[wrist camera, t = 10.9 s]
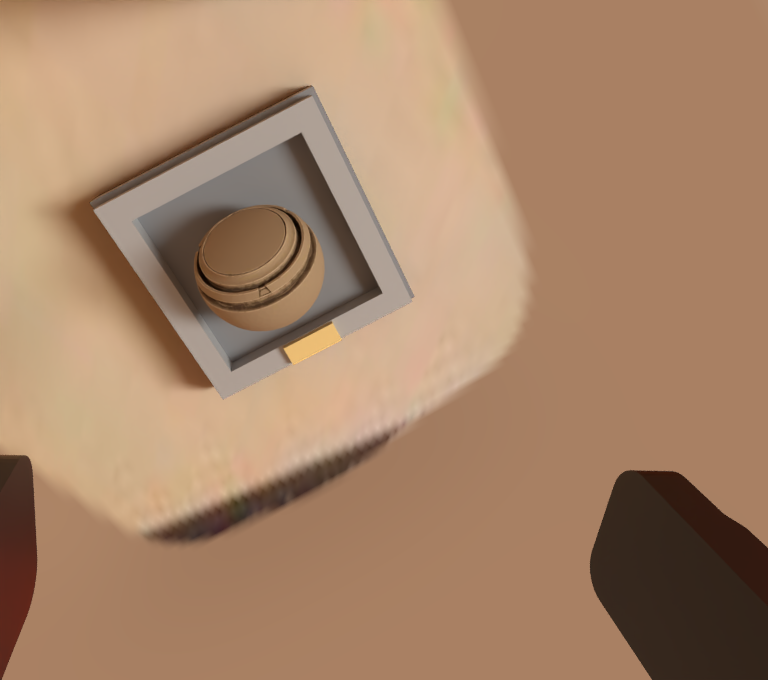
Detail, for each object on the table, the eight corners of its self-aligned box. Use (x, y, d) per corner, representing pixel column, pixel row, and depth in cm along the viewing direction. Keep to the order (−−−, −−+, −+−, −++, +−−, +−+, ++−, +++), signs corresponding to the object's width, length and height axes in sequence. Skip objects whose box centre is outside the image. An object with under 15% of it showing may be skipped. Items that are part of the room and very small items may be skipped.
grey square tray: (96, 197, 27) (81, 209, 24) (310, 85, 27) (315, 86, 24) (223, 384, 31) (220, 409, 29) (408, 289, 31) (421, 306, 28)
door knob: (335, 219, 28) (351, 248, 23) (294, 321, 29) (301, 367, 24) (222, 174, 26) (215, 195, 22) (184, 284, 28) (170, 326, 23)
